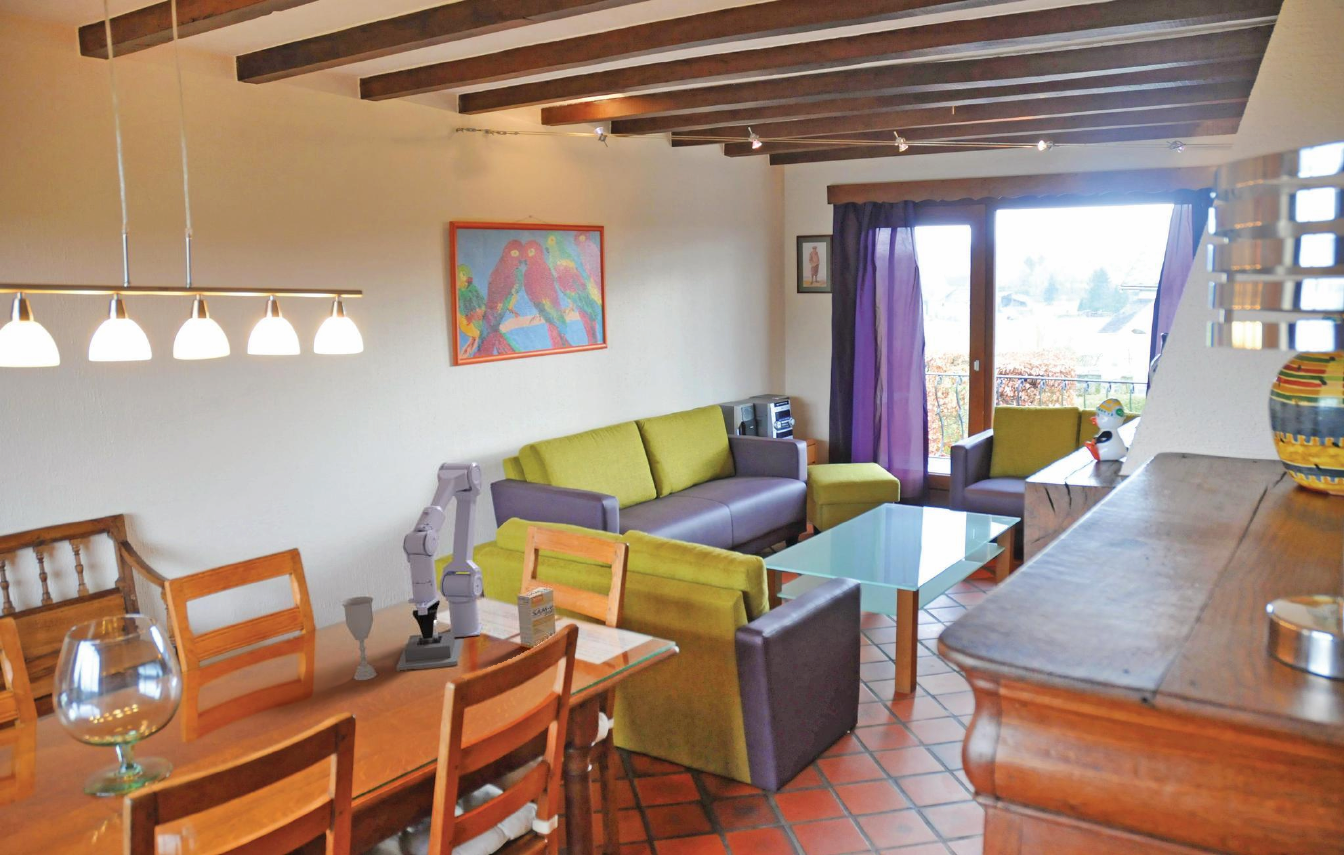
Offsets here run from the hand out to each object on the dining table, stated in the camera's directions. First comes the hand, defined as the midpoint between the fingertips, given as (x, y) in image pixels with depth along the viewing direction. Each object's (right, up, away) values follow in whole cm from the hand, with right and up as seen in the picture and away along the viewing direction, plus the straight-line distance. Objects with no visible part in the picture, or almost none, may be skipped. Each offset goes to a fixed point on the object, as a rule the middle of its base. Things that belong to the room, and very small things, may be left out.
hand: (429, 634), depth 244 cm
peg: (0, -3, 0) cm, 3 cm away
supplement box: (+26, -3, +6) cm, 27 cm away
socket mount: (0, -5, +1) cm, 5 cm away
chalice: (-12, -8, -10) cm, 18 cm away
